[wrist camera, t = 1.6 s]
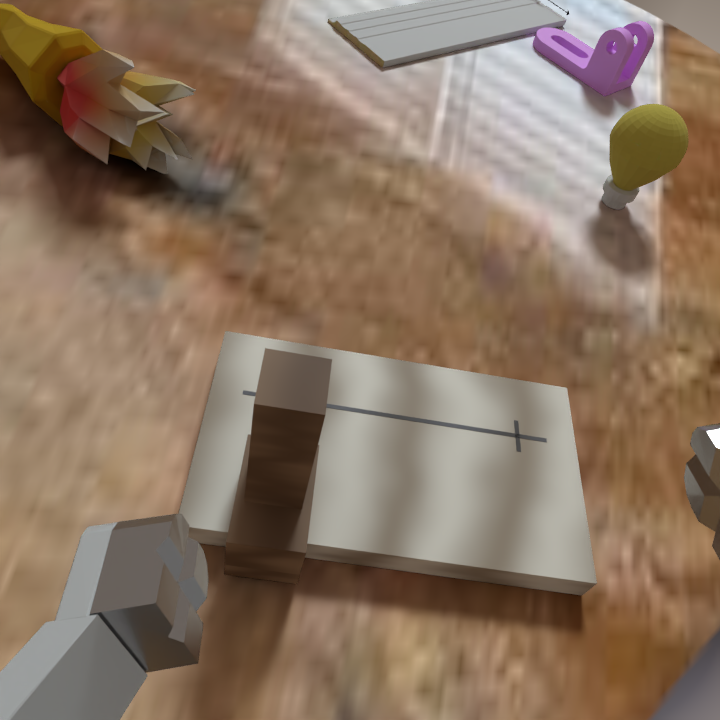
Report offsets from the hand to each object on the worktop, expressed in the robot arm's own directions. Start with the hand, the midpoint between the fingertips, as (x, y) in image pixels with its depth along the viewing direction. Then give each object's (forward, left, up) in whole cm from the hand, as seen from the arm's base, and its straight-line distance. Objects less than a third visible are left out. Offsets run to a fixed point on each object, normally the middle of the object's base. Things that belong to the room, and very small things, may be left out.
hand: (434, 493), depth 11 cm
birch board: (+5, +17, -28) cm, 33 cm away
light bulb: (+26, +50, -28) cm, 63 cm away
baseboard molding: (+10, +81, -29) cm, 87 cm away
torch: (-25, +48, -28) cm, 61 cm away
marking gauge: (-2, +14, -27) cm, 31 cm away
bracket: (+26, +77, -28) cm, 86 cm away
